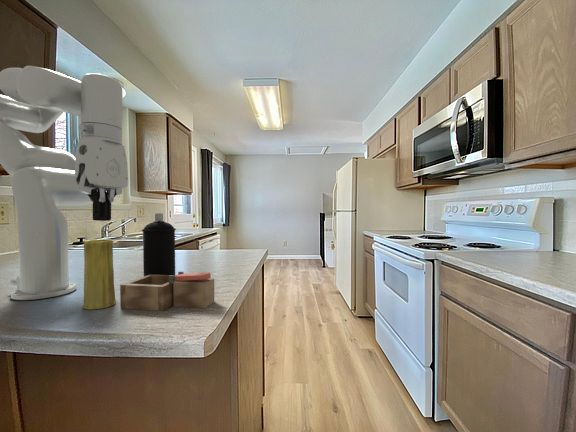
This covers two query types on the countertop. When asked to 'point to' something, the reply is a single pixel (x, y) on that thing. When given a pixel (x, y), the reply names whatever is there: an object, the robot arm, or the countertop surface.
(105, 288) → the vase
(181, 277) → the keeper bar
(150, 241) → the aerosol can
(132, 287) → the block
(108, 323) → the countertop surface
